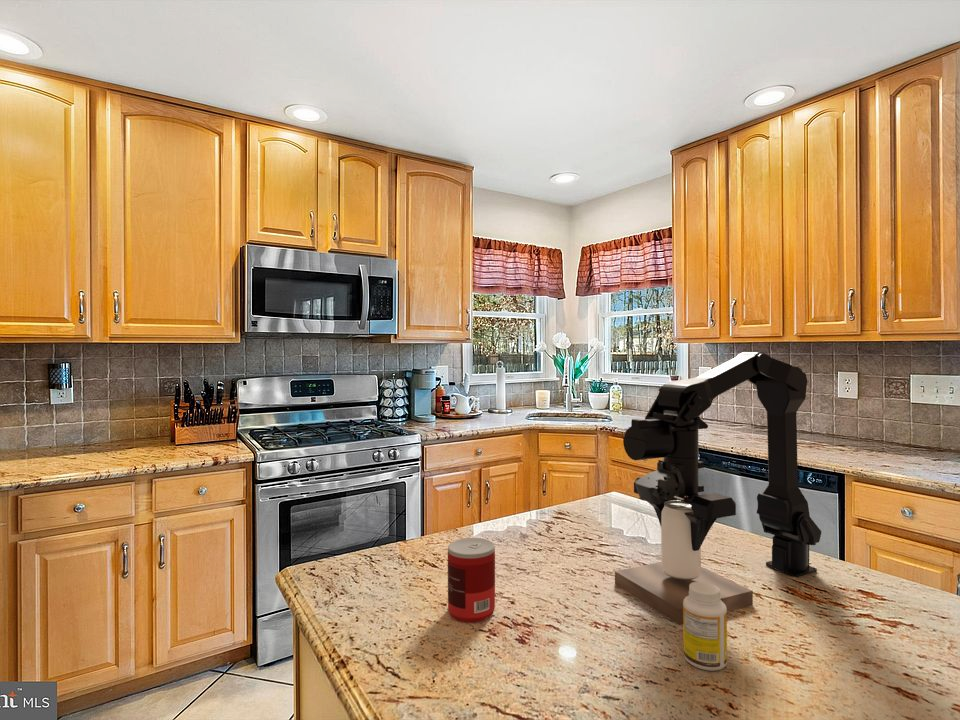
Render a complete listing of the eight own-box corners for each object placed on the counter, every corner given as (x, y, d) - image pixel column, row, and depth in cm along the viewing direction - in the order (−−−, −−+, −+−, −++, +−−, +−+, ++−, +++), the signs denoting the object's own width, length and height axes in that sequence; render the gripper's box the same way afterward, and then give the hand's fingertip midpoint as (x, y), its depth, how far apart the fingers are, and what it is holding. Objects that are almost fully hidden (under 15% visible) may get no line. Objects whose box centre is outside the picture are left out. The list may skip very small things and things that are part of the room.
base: (682, 570, 105) (682, 557, 105) (752, 605, 91) (752, 590, 90) (614, 584, 99) (614, 571, 99) (679, 624, 84) (679, 608, 84)
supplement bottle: (704, 646, 78) (704, 576, 78) (736, 667, 73) (736, 591, 73) (674, 655, 76) (674, 582, 76) (704, 676, 71) (704, 599, 71)
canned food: (500, 604, 91) (500, 540, 91) (485, 627, 84) (485, 557, 84) (458, 598, 94) (458, 535, 94) (440, 619, 86) (440, 551, 86)
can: (704, 582, 91) (704, 511, 91) (663, 578, 92) (663, 509, 92) (697, 567, 97) (696, 500, 97) (659, 564, 99) (659, 498, 98)
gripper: (610, 450, 100) (610, 534, 100) (685, 470, 83) (685, 571, 83) (657, 445, 104) (657, 526, 104) (738, 463, 87) (738, 559, 87)
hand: (681, 544), depth 95 cm, fingers closed on can, 6 cm apart
